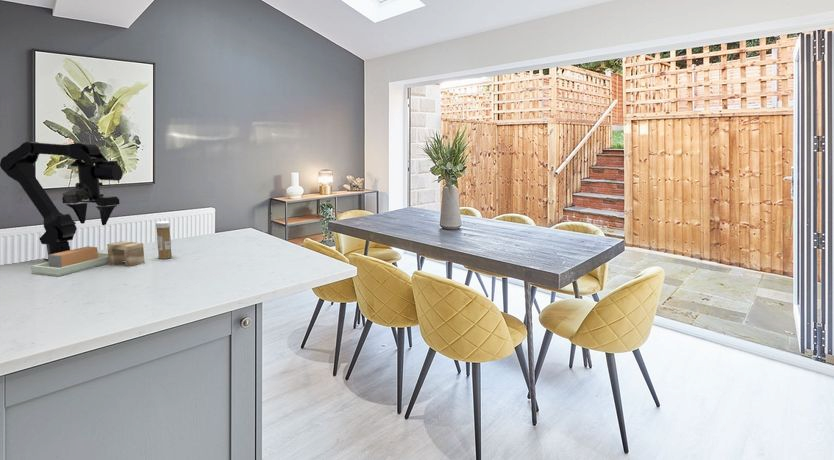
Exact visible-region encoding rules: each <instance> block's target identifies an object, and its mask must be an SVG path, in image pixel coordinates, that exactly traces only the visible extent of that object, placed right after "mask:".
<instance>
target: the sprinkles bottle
mask: <svg viewBox="0 0 834 460" xmlns="http://www.w3.org/2000/svg"><path fill="white" fill-rule="evenodd" d="M170 227H171V223H170V221H166V220H165V221H164V220H163V221H162V220H161V221H156V222H155V228H156V241H157V251H158V259H160V260H161V259H162V260H167V259H171V258H172V257H173V255H172V241H171V231H170V230H171V228H170Z"/></svg>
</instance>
